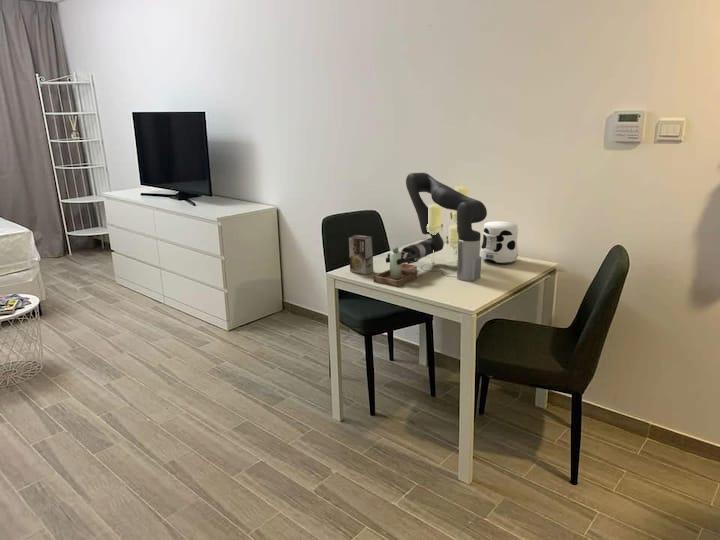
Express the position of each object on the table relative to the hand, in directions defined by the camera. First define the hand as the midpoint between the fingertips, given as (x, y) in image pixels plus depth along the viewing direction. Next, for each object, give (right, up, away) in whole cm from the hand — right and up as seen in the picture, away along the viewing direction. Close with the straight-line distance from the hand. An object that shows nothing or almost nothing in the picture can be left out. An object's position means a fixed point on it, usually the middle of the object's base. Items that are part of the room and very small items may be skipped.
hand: (392, 261), depth 228 cm
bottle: (+2, -7, +4) cm, 8 cm away
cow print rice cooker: (+53, 0, +30) cm, 60 cm away
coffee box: (-13, -4, +18) cm, 22 cm away
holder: (+7, -4, +17) cm, 19 cm away
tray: (+2, -8, +4) cm, 9 cm away
